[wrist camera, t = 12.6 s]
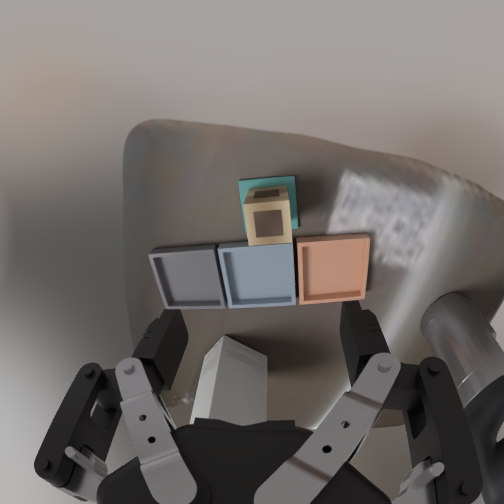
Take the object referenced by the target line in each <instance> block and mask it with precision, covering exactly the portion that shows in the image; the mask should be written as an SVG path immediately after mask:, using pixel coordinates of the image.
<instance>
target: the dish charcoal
mask: <svg viewBox="0 0 504 504" xmlns="http://www.w3.org/2000/svg"><path fill="white" fill-rule="evenodd" d="M148 255H149V259H150V262H151V265H152V268H153V272H154V275H155V278H156V281H157V284H158V287H159V290H160V293H161V296H162V299H163V302H164V305H165V308H166V309H222V308H226V305H227V298H226V293H225V288H224V283H223V278H222V273H221V268H220V263H219V258H218V252H217V247H216V244H207V245H195V246H183V247H171V248H159V249H152V251H151V252H150V253H149V254H148Z"/></svg>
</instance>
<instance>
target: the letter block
mask: <svg viewBox="0 0 504 504" xmlns="http://www.w3.org/2000/svg"><path fill="white" fill-rule="evenodd" d="M243 208H244V215H245V222H246V229H247V237H248V244H249V246H254V245H267V244H280V243H292V231H291V217H290V204H289V197H288V191H287V186H286V185H283V186H271V187H260V188H249V190H248V193H247V195H246V198H245V201H244V203H243Z"/></svg>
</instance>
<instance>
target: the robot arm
mask: <svg viewBox="0 0 504 504" xmlns="http://www.w3.org/2000/svg"><path fill="white" fill-rule="evenodd" d="M421 330H422V333H423V335H424V337H425V339H426V340H427V342H428V344H429V346H430V348H431V350H432V352H433V354H434V356H435V357H428V358H425V359H424V360H422V361H421V363H420V365H413V364H404V363H401V362H400V361H399V359H398V358H397V357H396V356H394V355H392V354H391V353H390V351H389V348H388V346H387V343H386V340H385V338H384V335H383V333H382V331H381V328H380V325H379V323H378V320H377V318H376V316H375V315H374V314H373V313H372V312H371V311H370V310H369V309H368V310H362V309H361V307H360V304H359V301H358V300H354V301H344V302H342V310H341V322H340V336H341V341H342V345H343V350H344V354H345V359H346V364H347V368H348V373H349V378H350V383H351V389H350V391H349V392H345V393H344V394H343V395H342V396H341V398H340V399H339V400H338V402H337V403H336V405H335V406H334V407H333V409H332V410H331V411H330V413H329V414H328V415H327V416H326V418H325V419H324V420H323V422H322V423H321V424H320V425H319V427H318V428H317V429H316V430H315V431H314V432H312V431H310V430H308V429H305V428H301V427H296V426H295V420H280V421H266V422H261V423H256V424H251V425H246V426H241V425H237V424H233V423H229V422H226V421H222V420H219V419H208V418H197V417H195V420H194V424H189V425H185V426H182V427H179V428H176V426H175V424H174V422H173V420H172V419H171V416H170V415H169V412H168V410H167V408H166V406H165V404H164V402H163V400H162V397H161V396H160V393H161V391H162V390H166V391H170V390H171V387H172V384H173V381H174V378H175V376H176V373H177V370H178V367H179V365H180V362H181V359H182V357H183V354H184V351H185V349H186V346H187V343H188V331H187V328H186V325H185V322H184V319H183V316H182V313H181V311H180V310H179V309H165V310H164V311H163V313H162V314H161V316H160V318H156V319H155V320H154V321H153V322H152V323H151V324H149V326H148V328H147V330H146V331H145V332H146V333H144V335H143V337H142V339H141V341H140V342H139V344H138V346H137V348H136V350H135V352H134V353H133V355H132V357H131V358H127V359H124V360H122V361H121V362H120V363H119V364H118V365H117V367H116V368H114V369H107V370H102V368H101V367H100V365H99V364H97V363H89V364H86V365H84V366H83V367H82V368H81V369H80V370H79V372H78V374H77V375H76V377H75V379H74V381H73V383H72V385H71V386H70V388H69V390H68V392H67V394H66V396H65V397H64V399H63V401H62V403H61V405H60V407H59V409H58V411H57V413H56V415H55V417H54V419H53V421H52V423H51V425H50V427H49V429H48V432H47V434H46V436H45V438H44V440H43V442H42V445H41V447H40V449H39V451H38V454H37V456H36V459H35V462H34V468H35V471H36V473H37V474H38V475H39V476H40V477H41V478H43V479H44V480H46V481H47V482H49V483H50V484H51V485H53V486H54V487H56V488H57V489H59V490H61V491H63V492H64V493H66V494H68V495H71V496H73V497H75V498H77V499H79V500H81V501H91V502H93V503H96V504H470V503H472V502H474V501H475V500H476V499H477V498H478V496H479V495H480V493H482V496H483V500H484V502H485V504H504V438H503V439H501V440H500V441H499V442H496V437H497V434H498V431H499V429H500V427H501V425H502V423H503V422H504V352H503V350H502V349H501V347H500V346H499V344H498V342H497V341H496V340H495V338H496V332H495V331H494V329H493V328H492V326H491V325H490V324H489V322H488V321H487V320H486V318H485V317H484V316H483V314H482V313H481V312H480V310H479V309H478V308H477V307H476V305H475V304H474V303H473V302H472V300H471V299H470V298H469V297H467V298H465V297H464V296H463V295H462V294H459V293H449V294H447V295H444V296H443V297H441V298H439V299H438V300H437V301H435V302H434V303H433V304H432V305H431V306H430V308H429V309H428V310H427V311H426V313H425V315H424V317H423V319H422V323H421ZM95 401H96V402H97V405H96V407H95V409H94V412H93V414H92V416H91V417H90V413H91V409H92V408H93V405H94V403H95ZM383 409H394V410H402V411H403V416H404V421H405V426H406V431H407V437H408V443H409V449H410V455H411V461H412V470H411V471H410V472H409V473H408V474H407V475H406V476H405V477H404V478H403V480H402V482H401V486H400V492H399V495H398V496H397V498H396V499H395V500H393V501H391V500H390V499H389V497H388V496H387V495H386V494H385V493H384V492H383V491H381V490H380V489H379V488H378V487H377V486H375V485H374V484H373V483H372V482H370V481H369V480H368V479H367V478H366V477H365V476H363V475H362V474H361V473H360V472H359V471H358V470H357V469H355V468H354V467H353V466H352V465H351V464H350V462H351V461H352V459H353V458H354V457H355V455H356V453H357V452H358V451H359V449H360V447H361V446H362V444H363V443H364V441H365V439H366V437H367V436H368V434H369V433H370V431H371V429H372V428H373V426H374V424H375V423H376V421H377V419H378V418H379V416H380V414H381V412H382V410H383ZM122 412H123V415H124V418H125V422H126V425H127V428H128V431H129V434H130V436H131V439H132V442H133V445H134V447H135V450H136V453H137V455H138V456H137V457H135V458H134V459H132V460H131V461H129V462H128V463H126V464H125V465H123V466H122V467H120V468H119V469H117V470H116V471H114V472H113V473H111V474H108V473H107V471H108V470H107V466H106V464H105V460H106V457H107V454H108V451H109V448H110V445H111V442H112V439H113V437H114V434H115V431H116V428H117V426H118V423H119V419H120V417H121V415H122Z"/></svg>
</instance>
